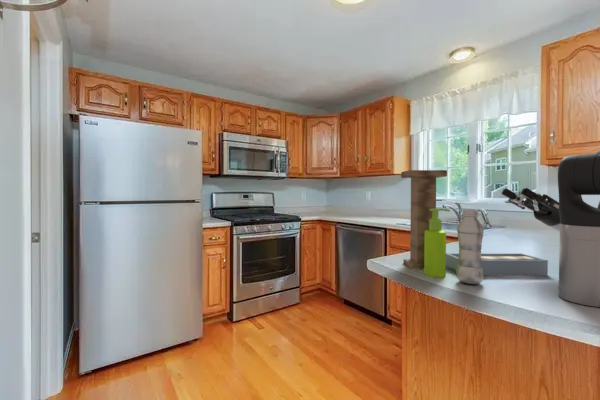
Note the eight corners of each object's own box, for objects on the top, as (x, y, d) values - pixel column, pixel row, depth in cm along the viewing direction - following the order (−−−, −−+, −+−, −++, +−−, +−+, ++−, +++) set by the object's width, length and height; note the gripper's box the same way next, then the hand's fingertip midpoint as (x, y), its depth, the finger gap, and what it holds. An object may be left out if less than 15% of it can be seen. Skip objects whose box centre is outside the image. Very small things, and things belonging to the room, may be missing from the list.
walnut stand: (434, 263, 104) (435, 172, 103) (446, 269, 96) (447, 170, 95) (400, 263, 104) (401, 172, 103) (409, 269, 96) (409, 170, 95)
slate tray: (521, 266, 99) (521, 253, 99) (547, 275, 88) (547, 260, 88) (444, 266, 99) (444, 253, 99) (462, 275, 88) (462, 260, 88)
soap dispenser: (452, 277, 86) (453, 208, 85) (429, 277, 86) (429, 208, 86) (443, 272, 92) (444, 208, 91) (421, 272, 92) (421, 207, 91)
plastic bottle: (456, 284, 79) (456, 210, 79) (456, 278, 85) (456, 209, 85) (484, 288, 76) (485, 210, 76) (482, 281, 82) (483, 209, 82)
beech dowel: (525, 267, 95) (526, 256, 95) (534, 269, 92) (534, 258, 91) (464, 267, 95) (464, 256, 95) (470, 269, 91) (470, 258, 91)
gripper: (544, 205, 100) (503, 181, 100) (584, 206, 86) (536, 179, 86) (532, 224, 101) (491, 200, 100) (571, 229, 86) (523, 201, 86)
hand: (512, 190), depth 93 cm, fingers open, 8 cm apart
